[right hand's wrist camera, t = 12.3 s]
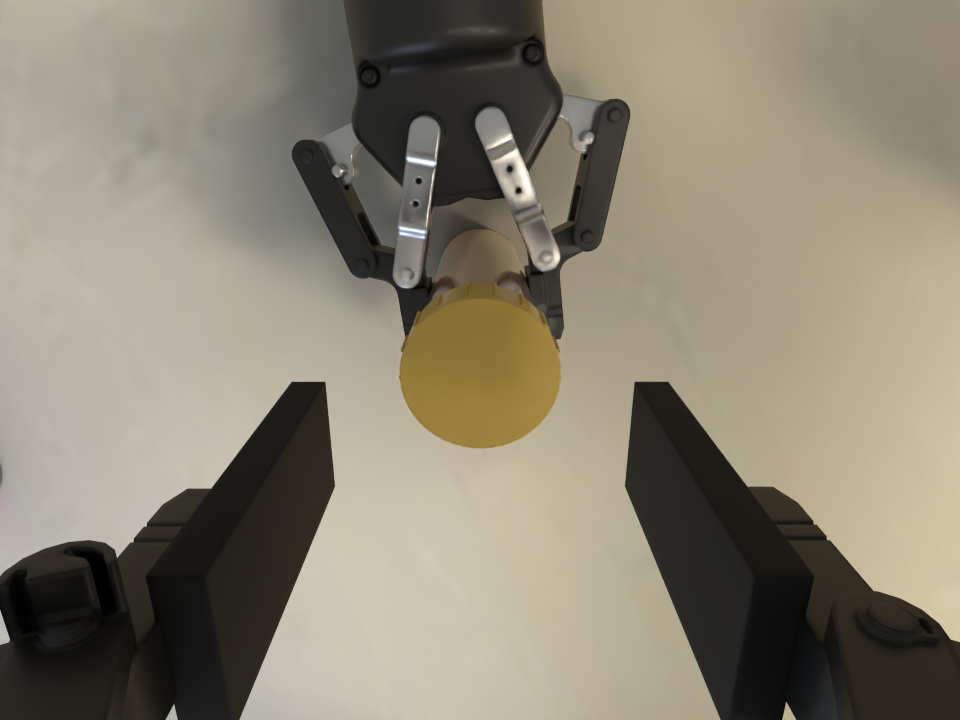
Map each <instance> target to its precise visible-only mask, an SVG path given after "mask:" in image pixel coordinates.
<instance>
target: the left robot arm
mask: <svg viewBox="0 0 960 720" xmlns="http://www.w3.org/2000/svg"><path fill="white" fill-rule="evenodd" d="M344 6H345V12H346V18H347V23H348V29H349V35H350V40H351V46H352V52H353V58H354V63H355V69H356V75H357V82H358V91H357V99H356V103H355V106H354V109H353V112H352V123H350V124H348V125H346V126H344V127H342V128H340V129H338V130H336V131H334V132H331V133H329V134H327V135H325V136H323V137H321V138H319V139H317V140H301V141H299V142H298V143H296V144H295V146H294V148H293V150H292V158H293V161H294V163H295V165H296V167H297V169H298V171H299V173H300V175H301V177H302V179H303V181H304V183H305V184H306V186H307V188H308V190H309V192H310V194H311V196H312V198H313V200H314V202H315V204H316V206H317V208H318V210H319V212H320V214H321V216H322V217H323V219H324V221H325V223H326V225H327V227H328V229H329V231H330V233H331V235H332V237H333V239H334V241H335V243H336V245H337V247H338V248H339V250H340V252H341V254H342V256H343V258H344V260H345V262H346V264H347V266H348V268H349V270H350V271H351V273H352V274H353V275H354V276H356V277H358V278H362V279H365V278H369V277H370V278H375V279H379V280H384V281H387V282H389V283H390V284H391V285H393V286H394V288H395V289H396V291H397V293H398V298H399V304H400V309H401V315H402V321H403V327H404V332H405V338H406V335H408V336H409V333H410V331H411V329H412V326H413V323H414V320H415V317H416V315H417V312H418V311H420V312H422V310H423V309H424V308H425V307H426V304H427V301H428V298H429V295H430V292H431V289H432V286H433V283H432V277H427V276H426V270H425V266H426V259H427V253H428V246H429V239H430V232H431V227H432V222H433V216H434V210H435V207H437V206H444V205H450V204H452V203H455V202H457V201H460V200H462V199H464V198H467V197H470V198H477V199H484V200H491V199H499V198H505V199H506V201H507V203H508V206H509V208H510V210H511V213H512V215H513V217H514V220H515V222H516V224H517V227H518V229H519V231H520V234H521V236H522V238H523V241H524V243H525V245H526V248H527V253H528V263H529V265H527V266H524V267H525V277H526V281H527V284H528V287H529V290H530V293H531V297H532V300H533V303H534V306H535V307H536V308H537V310H538V311H539V312H541V311H542V312H543V313H544V316H545V318H546V321H547V324H548V327H549V330H550V332H551V335H552V336H555V339H560V338H561V335H562V332H563V329H564V322H563V310H562V298H561V287H560V269H561V267H562V265H563V263H564V262H565V261H566V260H567V259H569V258H571V257H573V256H575V255H577V254H579V253H581V252H583V251H586V252H587V251H592V250H594V249H596V248H597V247H598V246H599V245H600V243H601V240H602V236H603V232H604V227H605V223H606V219H607V214H608V210H609V206H610V201H611V197H612V193H613V188H614V184H615V180H616V176H617V171H618V167H619V163H620V158H621V154H622V150H623V145H624V141H625V137H626V132H627V128H628V124H629V119H630V110H629V107H628V105H627V104H626V103H625V102H624V101H622V100H620V99H609V100H605V101H598V100H593V99H587V98H582V97H576V96H571V95H565V94H563V93H562V89H561V87H560V85H559V83H558V81H557V80H556V78H555V77H554V75H553V73H552V71H551V69H550V67H549V64H548V60H547V55H546V45H545V33H544V20H543V8H542V0H344ZM558 119H559V120H561V121H562V122H564V123H565V125H566V126H567V128H568V133H569V135H568V142H569V145H570V147H571V148H572V149H573V150H574V151H576V152H578V153H581V157H580V162H579V167H578V172H577V176H576V181H575V186H574V191H573V195H572V200H571V205H570V210H569V214H568V219H567V222H565V223H563V224H561V225H559V226H557V227H555V228H554V229H552V230H551V229H550V227H549V224H548V222H547V219H546V217H545V214H544V211H543V208H542V206H541V203H540V201H539V198H538V196H537V193H536V191H535V189H534V186H533V184H532V181H531V179H530V176H529V174H528V172H529V171H530V169H531V167H532V165H533V163H534V161H535V160H536V158H537V156H538V154H539V152H540V151H541V149H542V147H543V145H544V143H545V142H546V140H547V138H548V136H549V134H550V132H551V131H552V129H553V127H554V125H555V123H556V122H557V120H558ZM362 146H364V147H365V148H366V150H367V151H368V152H369V153H370V154H371V155H372V156H373V157H374V158H375V159H376V160H377V161H378V162H379V163H380V164H381V165H382V166H383V167H384V169H385V170H386V171H387V172H388V173H389V174H390V175H391V176H392V177H393V178H394V179H395V180H396V181H397V182H398V183H399V184H400V185H401V187H402V195H401V202H400V210H399V218H398V227H397V230H398V235H397V243H396V249H395V248H391V247H386V246H382V245H381V243H380V241H379V239H378V237H377V235H376V233H375V231H374V229H373V227H372V225H371V223H370V221H369V219H368V217H367V215H366V213H365V211H364V208H363V206H362V204H361V202H360V200H359V198H358V196H357V194H356V192H355V190H354V188H353V186H352V184H351V183H352V182H354V181H355V180H356V179H357V178H358V175H359V165H358V162H357V154H358V151H359V150H360V148H361V147H362Z"/></svg>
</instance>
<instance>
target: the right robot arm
mask: <svg viewBox="0 0 960 720" xmlns="http://www.w3.org/2000/svg"><path fill="white" fill-rule="evenodd" d="M334 487H335V482H334V471H333V460H332V449H331V438H330V428H329V417H328V406H327V395H326V384H325V382H291V384H290V385H289V386H288V388H287V389H286V390H285V392H284V393H283V394H282V396H281V397H280V398H279V400H278V401H277V402H276V404H275V405H274V406H273V408H272V409H271V410H270V412H269V413H268V414H267V416H266V417H265V418H264V420H263V421H262V422H261V423H260V425H259V426H258V427H257V429H256V430H255V431H254V433H253V434H252V435H251V437H250V438H249V439H248V441H247V442H246V443H245V445H244V446H243V447H242V449H241V450H240V451H239V453H238V454H237V455H236V457H235V458H234V459H233V461H232V462H231V463H230V465H229V466H228V467H227V469H226V470H225V471H224V473H223V474H222V475H221V477H220V478H219V479H218V481H217V482H216V483H215V484H214V486H213V487H212V488H211V489H186V490H185V491H183V492H182V493H180V494H179V495H177V496H176V497H174V498H172V499H171V500H169V501H168V502H166V503H165V504H163V505H162V506H161V507H160V509H159V510H158V511H157V512H156V513H155V514H154V516H153V517H152V518H151V519H150V520H149V521H148V523H147V527H143V529H142V530H141V531H140V532H139V533H138V534H137V536H136V537H135V538H134V542H133V543H130V544H129V545H128V546H127V547H126V548H125V550H124V551H123V552H122V553H121V554H120V556H119V557H118V558H117V557H116V553H115V550H114V549H113V548H111V547H110V546H109V545H107V544H106V543H103V542H97V541H91V540H86V541H76V542H67V543H63V544H60V545H56V546H53V547H49V548H45V549H43V550H41V551H39V552H37V553H34V554H32V555H30V556H28V557H26V558H23V559H22V560H20V561H19V562H17V563H16V564H15V565H13V566H12V567H10V568H9V569H7V570H6V571H5V572H4V573H3V574H2V575H1V576H0V610H1V613H2V616H3V619H4V622H5V625H6V628H7V631H8V634H9V637H10V641H9V643H6V644H2V645H0V720H166V718H167V716H168V714H169V712H170V710H171V708H172V706H173V705H175V709H176V714H177V718H178V720H239V719H240V717H241V714H242V712H243V709H244V707H245V705H246V702H247V700H248V697H249V695H250V692H251V690H252V687H253V685H254V683H255V680H256V678H257V675H258V673H259V670H260V668H261V666H262V663H263V661H264V658H265V656H266V653H267V651H268V648H269V646H270V644H271V641H272V639H273V636H274V634H275V631H276V629H277V626H278V624H279V622H280V619H281V617H282V614H283V612H284V609H285V607H286V605H287V602H288V600H289V597H290V595H291V592H292V590H293V587H294V585H295V583H296V580H297V578H298V575H299V573H300V570H301V568H302V565H303V563H304V561H305V558H306V556H307V553H308V551H309V548H310V546H311V544H312V541H313V539H314V536H315V534H316V531H317V529H318V526H319V524H320V522H321V519H322V517H323V514H324V512H325V509H326V507H327V504H328V502H329V500H330V497H331V495H332V492H333V490H334ZM625 487H626V490H627V492H628V495H629V497H630V500H631V502H632V504H633V507H634V509H635V512H636V514H637V517H638V519H639V522H640V524H641V526H642V529H643V531H644V534H645V536H646V539H647V541H648V544H649V546H650V548H651V551H652V553H653V556H654V558H655V561H656V563H657V565H658V568H659V570H660V573H661V575H662V578H663V580H664V583H665V585H666V587H667V590H668V592H669V595H670V597H671V600H672V602H673V605H674V607H675V609H676V612H677V614H678V617H679V619H680V622H681V624H682V626H683V629H684V631H685V634H686V636H687V639H688V641H689V644H690V646H691V648H692V651H693V653H694V656H695V658H696V661H697V663H698V666H699V668H700V670H701V673H702V675H703V678H704V680H705V683H706V685H707V687H708V690H709V692H710V695H711V697H712V700H713V702H714V705H715V707H716V709H717V712H718V714H719V717H720V719H721V720H782V718H783V714H784V709H785V705H786V702H787V703H788V705H789V707H790V709H791V711H792V713H793V715H794V716H795V718H796V720H960V642H957V641H954V640H950V638H949V637H948V635H947V634H946V632H945V631H944V630H943V628H942V627H941V625H940V624H939V623H938V622H936V621H935V620H934V619H933V618H931V617H930V616H929V615H928V614H926V613H925V612H924V611H923V610H921V609H919V608H918V607H916V606H914V605H912V604H910V603H908V602H906V601H904V600H902V599H900V598H897V597H894V596H891V595H887V594H884V593H881V592H877V591H873V590H872V589H871V588H870V586H869V585H868V584H867V583H866V582H865V581H864V579H863V578H862V577H861V576H860V575H859V574H858V572H857V571H856V570H855V569H854V568H853V567H852V565H851V564H850V563H849V562H848V561H847V560H846V558H845V557H844V556H843V555H842V554H841V553H840V551H839V550H838V549H837V548H836V547H835V546H834V544H833V543H832V542H831V541H830V540H827V536H826V535H825V534H824V533H823V532H822V531H821V529H820V528H819V527H818V526H817V525H814V523H813V520H812V519H811V518H810V517H809V515H808V514H807V513H806V512H805V511H804V510H803V508H802V507H801V506H800V505H799V504H798V503H797V502H796V501H794V500H793V499H791V498H790V497H788V496H786V495H785V494H783V493H782V492H780V491H779V490H777V489H775V488H774V487H747V486H746V484H745V483H744V482H743V481H742V479H741V478H740V477H739V475H738V474H737V473H736V471H735V470H734V469H733V467H732V466H731V465H730V463H729V462H728V461H727V459H726V458H725V457H724V455H723V454H722V453H721V451H720V450H719V449H718V447H717V446H716V445H715V443H714V442H713V441H712V439H711V438H710V437H709V435H708V434H707V433H706V431H705V430H704V429H703V427H702V426H701V425H700V423H699V422H698V421H697V420H696V418H695V417H694V416H693V414H692V413H691V412H690V410H689V409H688V408H687V406H686V405H685V404H684V402H683V401H682V400H681V398H680V397H679V396H678V394H677V393H676V392H675V390H674V389H673V388H672V386H671V385H670V384H669V382H635V384H634V395H633V406H632V417H631V428H630V438H629V449H628V460H627V471H626V482H625Z"/></svg>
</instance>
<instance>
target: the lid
mask: <svg viewBox="0 0 960 720" xmlns="http://www.w3.org/2000/svg"><path fill="white" fill-rule="evenodd" d="M401 352H403V354H402V358H401V364H400V376H399V378H400V382H401V389H402V392H403V395H404V398H405V401H406V403H407V405H408V407H409V409H410V410H411V412H412V413H413V415H414V416H415V417H416V419H417V420H418V421H419V422H420V423H421V424H422V425H423V426H424V427H425V428H426V429H427V430H428V431H430V432H431V433H433V434H434V435H435V436H437V437H439V438H441V439H443V440H445V441H447V442H450V443H452V444H455V445H459V446H463V447H470V448H491V447H497V446H502V445H505V444H508V443H511V442H513V441H516V440H518V439H520V438H522V437H523V436H525V435H526V434H528V433H530V432H531V431H532V430H533V429H534V428H536V427H537V426H538V425H539V424H540V423H541V422H542V421H543V420H544V418H545V417H546V416H547V414H548V413H549V411H550V410H551V408H552V406H553V404H554V402H555V400H556V397H557V394H558V391H559V386H560V380H561V368H560V360H559V355H558V352H560V350H559V347H558V344H557V342H556V339H555V336H552V335H551V332H550V330H549V327H548V324H547V321H546V318H545V316H544V313H543V312H542V311H541V312H539V311H538V310H537V308H536V307H535V306H534V305H533V304H532V303H530V302H529V301H528V300H527V299H526V298H524V294H522V293H520V294H518V293H516V292H514V291H512V290H509V289H507V288H504V287H500V286H497V283H493V285H490V284H470V285H468V283H464V286H460V287H457V288H454V289H451V290H449V291H447V292H445V293H443V294H441V293H438V294H437V298H435V299H434V300H432V301H431V302H430V303H429V304H428V305H427V306H426V307H425V308H424V309H423V310H422V312H420V311H418V312H417V315H416V317H415V320H414V323H413V326H412V329H411V331H410V333H409V336H408V335H406V338H405V340H404V343H403V346H402V348H401Z"/></svg>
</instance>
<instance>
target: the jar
mask: <svg viewBox="0 0 960 720" xmlns="http://www.w3.org/2000/svg"><path fill="white" fill-rule="evenodd" d="M464 283H468V285H470V284H490V285H493V283H497V286H500V287H504V288H507V289H509V290H512V291H514V292H516V293H518V294H520V293H522V294H524V298H526V299H527V300H528V301H529V302H530V303H532V304H533V305H534V303H533V300H532V297H531V293H530V290H529V287H528V284H527V281H526V278H525V275H524V272H523V269H522V265H521V262H520V259H519V256H518V253H517V251H516V249H515V248H514V246H513V245H512V243H511V242H510V241H509V240H508V239H507V238H506V237H504V236H503V235H501V234H500V233H498V232H495V231H492V230H489V229H472V230H468V231H465V232H463V233H461V234H459V235H458V236H456V237H455V238H454V239H453V240H452V241H451V242H450V243H449V244H448V245H447V247H446V248H445V250H444V252H443V255H442V258H441V261H440V264H439V267H438V270H437V273H436V276H435V279H434V283H433V286H432V289H431V292H430V295H429V298H428V301H427V304H426V306H427V305H428V304H429V303H430V302H431V301H432V300H434V299H435V298H437V294H438V293H441V294H443V293H445V292H447V291H449V290H451V289H454V288H457V287H460V286H464Z"/></svg>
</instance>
